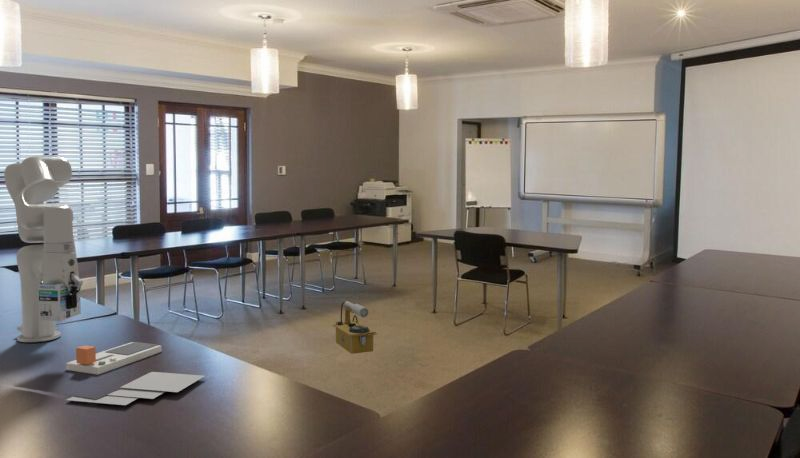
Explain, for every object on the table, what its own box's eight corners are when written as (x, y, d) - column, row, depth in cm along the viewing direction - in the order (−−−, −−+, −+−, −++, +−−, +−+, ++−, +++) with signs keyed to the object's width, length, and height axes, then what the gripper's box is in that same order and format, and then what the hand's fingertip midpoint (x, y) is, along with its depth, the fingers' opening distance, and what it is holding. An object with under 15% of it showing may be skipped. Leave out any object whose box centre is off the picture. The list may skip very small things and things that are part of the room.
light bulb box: (61, 321, 174) (60, 284, 174) (38, 321, 175) (37, 284, 174) (81, 313, 185) (81, 278, 184) (60, 312, 185) (59, 277, 184)
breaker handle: (76, 363, 173) (76, 347, 173) (85, 360, 176) (84, 345, 176) (87, 364, 172) (86, 349, 172) (95, 361, 175) (95, 346, 174)
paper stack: (156, 407, 147) (156, 405, 147) (65, 400, 151) (65, 397, 151) (205, 378, 170) (205, 375, 169) (125, 372, 174) (125, 369, 174)
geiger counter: (350, 356, 192) (351, 309, 190) (325, 337, 215) (325, 295, 214) (377, 352, 195) (377, 306, 194) (349, 334, 219) (349, 293, 218)
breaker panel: (66, 369, 175) (65, 360, 175) (132, 348, 198) (131, 340, 198) (98, 374, 171) (97, 365, 170) (161, 351, 194) (161, 343, 194)
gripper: (91, 248, 179) (93, 307, 180) (48, 245, 185) (49, 301, 186) (70, 251, 172) (71, 312, 173) (25, 247, 178) (27, 306, 179)
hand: (60, 306), depth 180 cm, fingers closed on light bulb box, 8 cm apart
